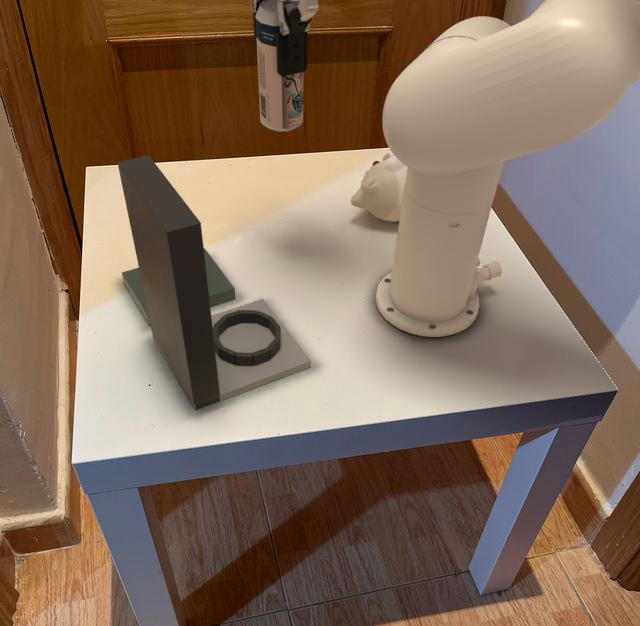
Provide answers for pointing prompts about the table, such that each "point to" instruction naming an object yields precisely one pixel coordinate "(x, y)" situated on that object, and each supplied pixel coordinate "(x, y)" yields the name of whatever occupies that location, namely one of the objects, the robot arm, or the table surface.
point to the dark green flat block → (216, 280)
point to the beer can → (276, 75)
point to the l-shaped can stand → (197, 300)
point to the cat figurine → (382, 189)
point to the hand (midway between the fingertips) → (280, 60)
